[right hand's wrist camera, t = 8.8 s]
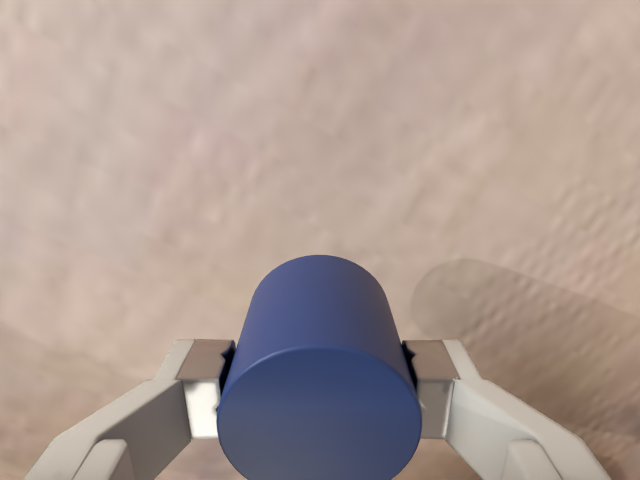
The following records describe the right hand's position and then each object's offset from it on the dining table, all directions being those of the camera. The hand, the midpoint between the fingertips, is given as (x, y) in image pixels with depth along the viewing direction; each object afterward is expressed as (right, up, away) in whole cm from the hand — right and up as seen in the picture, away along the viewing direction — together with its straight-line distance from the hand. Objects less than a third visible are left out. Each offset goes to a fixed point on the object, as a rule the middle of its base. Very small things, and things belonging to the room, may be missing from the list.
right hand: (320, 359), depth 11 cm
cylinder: (0, +1, +2) cm, 2 cm away
